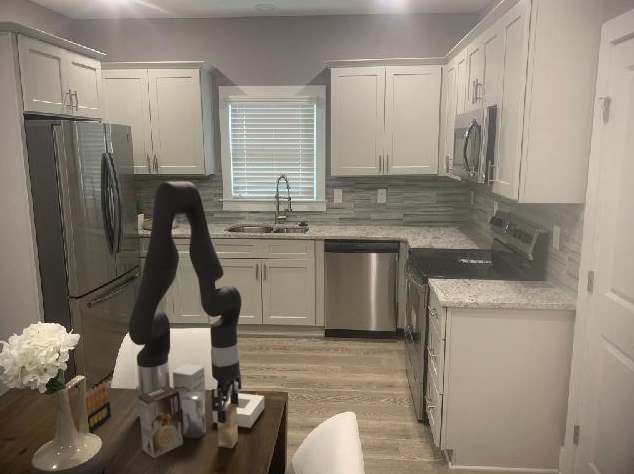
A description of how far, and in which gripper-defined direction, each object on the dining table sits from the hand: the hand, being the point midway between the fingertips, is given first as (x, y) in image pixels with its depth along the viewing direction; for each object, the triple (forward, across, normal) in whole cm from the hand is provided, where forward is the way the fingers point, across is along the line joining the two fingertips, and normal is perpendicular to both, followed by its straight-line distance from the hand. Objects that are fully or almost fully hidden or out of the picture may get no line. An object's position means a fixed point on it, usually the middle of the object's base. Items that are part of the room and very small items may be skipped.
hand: (228, 414), depth 139 cm
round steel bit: (+8, -3, -12) cm, 15 cm away
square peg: (+9, 0, 0) cm, 9 cm away
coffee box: (+9, +6, -18) cm, 21 cm away
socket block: (+9, -15, -3) cm, 18 cm away
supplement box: (+9, -17, -21) cm, 29 cm away
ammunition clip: (+8, 0, -44) cm, 44 cm away
